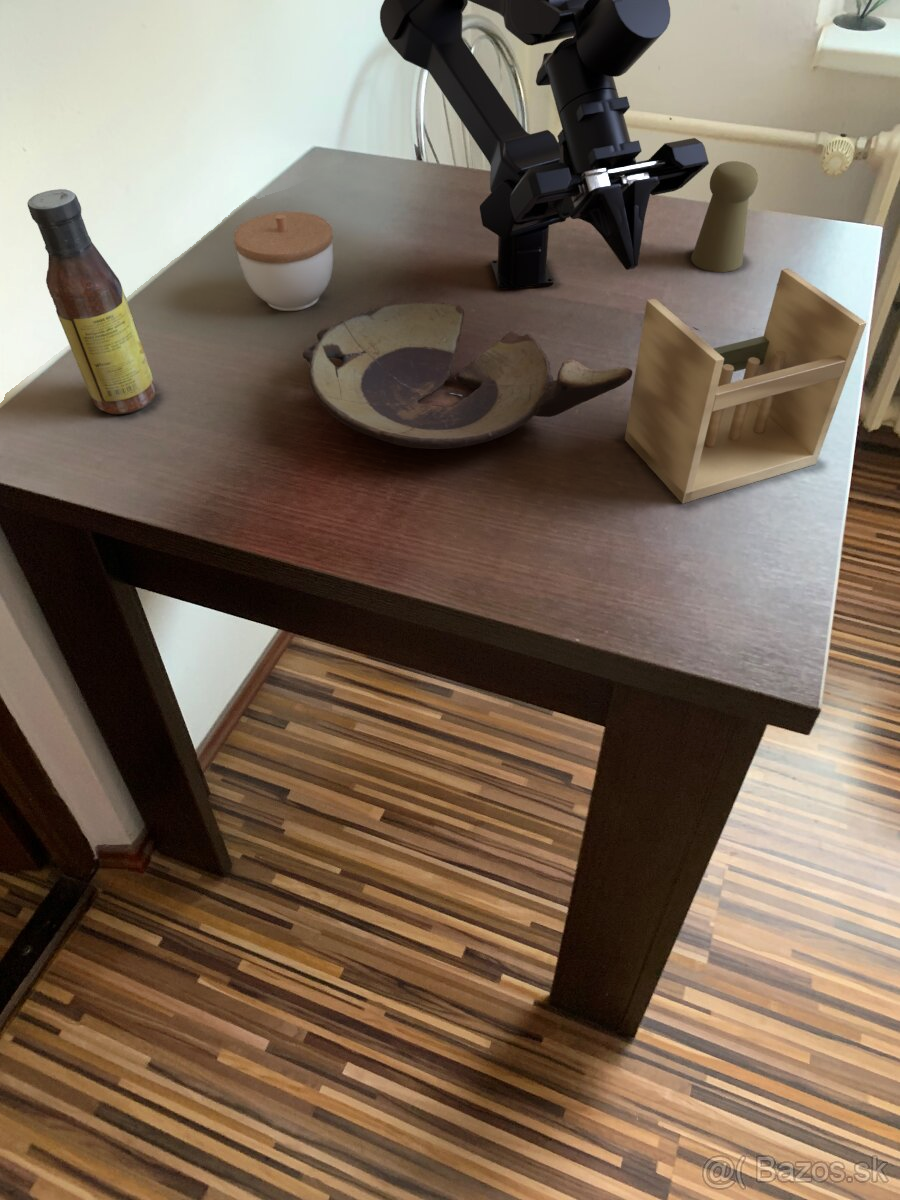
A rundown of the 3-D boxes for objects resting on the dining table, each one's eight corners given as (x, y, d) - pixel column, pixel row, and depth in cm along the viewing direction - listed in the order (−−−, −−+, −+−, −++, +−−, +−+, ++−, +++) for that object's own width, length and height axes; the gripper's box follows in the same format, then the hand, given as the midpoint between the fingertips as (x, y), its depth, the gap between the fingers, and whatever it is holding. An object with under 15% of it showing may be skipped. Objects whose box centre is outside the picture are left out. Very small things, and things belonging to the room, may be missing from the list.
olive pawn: (743, 274, 104) (766, 177, 96) (690, 269, 105) (709, 174, 97) (741, 250, 108) (763, 156, 100) (691, 247, 109) (709, 153, 101)
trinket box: (228, 311, 100) (210, 229, 93) (275, 269, 107) (262, 190, 100) (312, 328, 97) (300, 245, 90) (355, 284, 104) (347, 204, 97)
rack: (624, 439, 83) (646, 299, 72) (750, 405, 86) (788, 267, 76) (682, 503, 76) (715, 360, 66) (816, 464, 80) (867, 322, 69)
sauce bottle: (169, 388, 90) (111, 187, 75) (135, 423, 85) (67, 218, 71) (114, 377, 91) (47, 178, 77) (78, 411, 87) (0, 208, 73)
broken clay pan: (412, 321, 98) (408, 254, 92) (647, 420, 85) (660, 348, 79) (261, 413, 86) (247, 343, 81) (506, 544, 73) (509, 471, 67)
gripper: (634, 134, 94) (673, 278, 95) (473, 163, 89) (516, 314, 90) (689, 73, 83) (732, 237, 84) (510, 102, 78) (558, 275, 79)
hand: (632, 268), depth 85 cm, fingers closed
